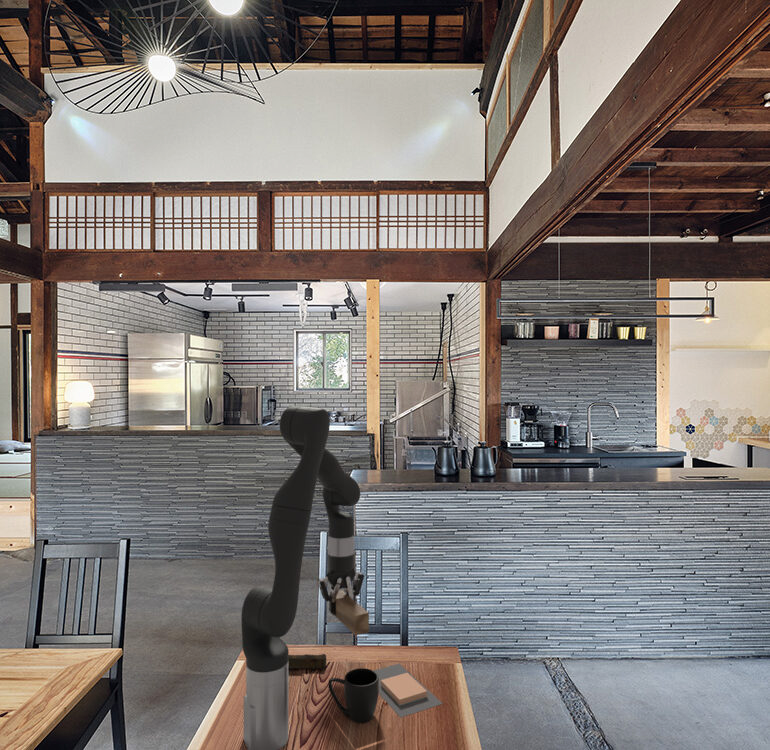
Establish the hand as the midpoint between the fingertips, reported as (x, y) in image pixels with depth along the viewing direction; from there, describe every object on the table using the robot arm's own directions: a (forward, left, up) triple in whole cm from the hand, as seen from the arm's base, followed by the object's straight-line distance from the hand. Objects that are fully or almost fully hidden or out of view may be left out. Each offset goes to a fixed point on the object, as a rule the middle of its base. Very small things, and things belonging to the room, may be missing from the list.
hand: (341, 612), depth 152 cm
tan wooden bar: (0, -5, 0) cm, 5 cm away
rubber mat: (+9, -18, -15) cm, 25 cm away
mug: (-6, -23, -15) cm, 28 cm away
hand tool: (-13, +5, -16) cm, 21 cm away
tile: (+9, -15, -14) cm, 22 cm away
